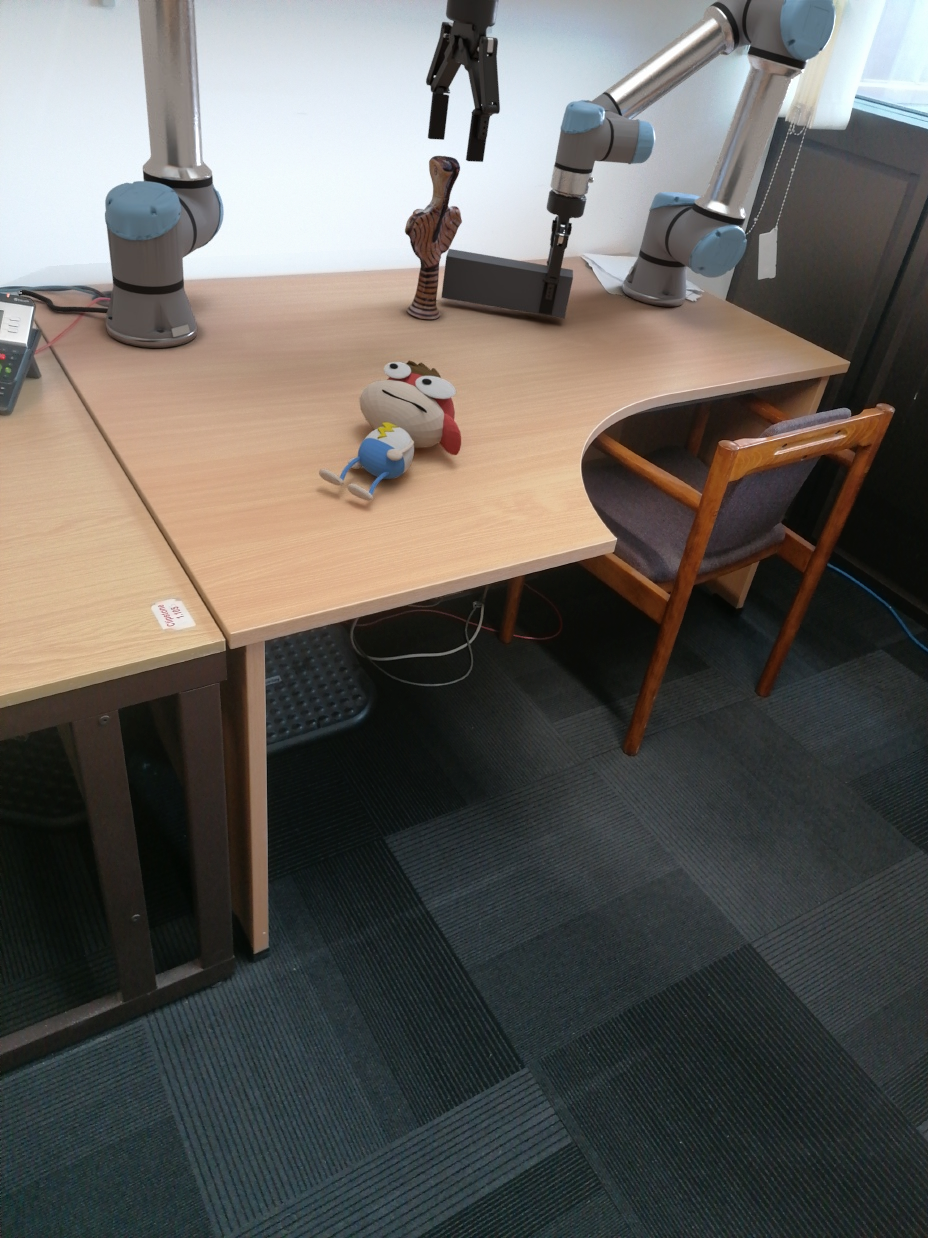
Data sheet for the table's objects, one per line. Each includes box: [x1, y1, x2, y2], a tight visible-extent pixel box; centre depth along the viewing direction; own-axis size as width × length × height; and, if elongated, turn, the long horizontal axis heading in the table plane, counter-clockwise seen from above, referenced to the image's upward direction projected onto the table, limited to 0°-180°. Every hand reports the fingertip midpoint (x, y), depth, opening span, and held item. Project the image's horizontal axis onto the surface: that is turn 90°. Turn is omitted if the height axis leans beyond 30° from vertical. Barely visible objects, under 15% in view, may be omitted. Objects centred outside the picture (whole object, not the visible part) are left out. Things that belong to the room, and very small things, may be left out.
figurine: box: [404, 155, 463, 320], centre depth 174 cm, size 15×8×30 cm, turn 144°
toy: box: [318, 360, 462, 502], centre depth 133 cm, size 18×10×30 cm
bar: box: [440, 248, 574, 320], centre depth 187 cm, size 26×5×9 cm, turn 85°
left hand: (454, 149), depth 144 cm, fingers open, 13 cm apart
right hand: (545, 308), depth 190 cm, fingers open, 5 cm apart
